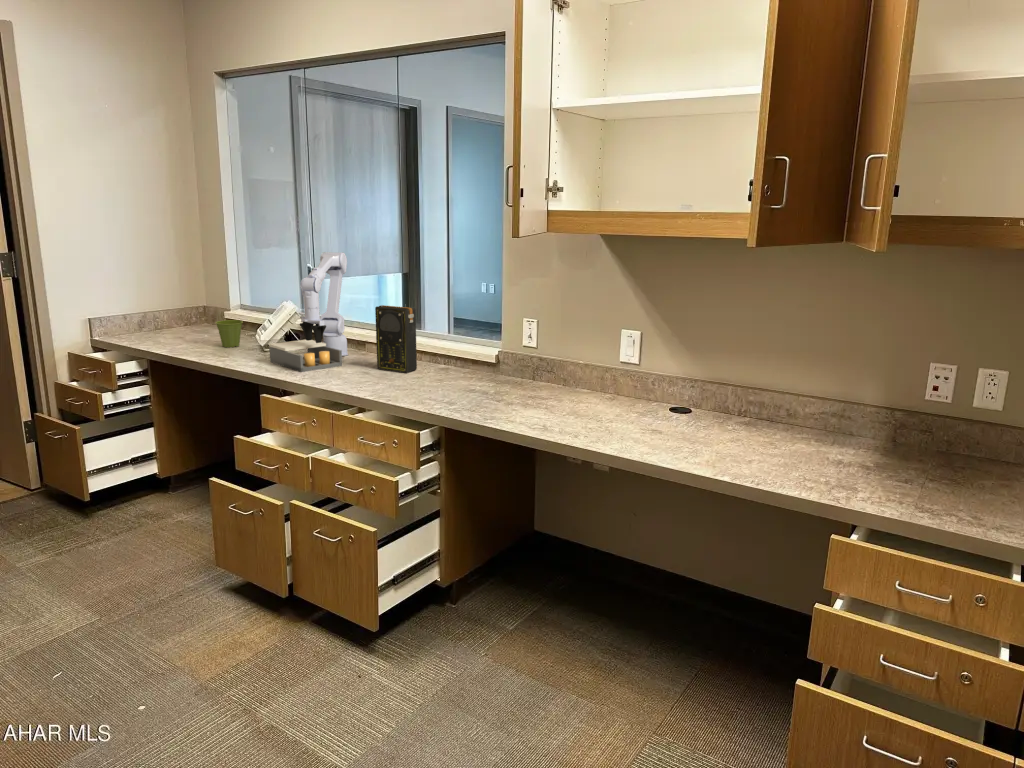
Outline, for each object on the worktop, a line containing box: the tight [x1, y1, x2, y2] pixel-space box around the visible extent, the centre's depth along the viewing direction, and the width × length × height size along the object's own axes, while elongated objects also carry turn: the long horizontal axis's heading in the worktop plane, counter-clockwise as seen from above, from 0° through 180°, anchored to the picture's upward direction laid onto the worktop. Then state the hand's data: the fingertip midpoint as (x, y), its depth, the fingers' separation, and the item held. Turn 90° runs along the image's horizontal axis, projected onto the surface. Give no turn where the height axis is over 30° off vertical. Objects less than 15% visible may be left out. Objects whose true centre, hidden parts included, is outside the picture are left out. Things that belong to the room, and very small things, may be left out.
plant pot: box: [214, 319, 244, 348], centre depth 331 cm, size 12×12×11 cm
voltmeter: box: [374, 304, 418, 374], centre depth 283 cm, size 16×9×25 cm, turn 60°
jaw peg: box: [319, 351, 330, 365], centre depth 290 cm, size 4×4×6 cm
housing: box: [268, 346, 343, 373], centre depth 295 cm, size 18×26×6 cm
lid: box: [268, 339, 326, 352], centre depth 298 cm, size 18×14×2 cm
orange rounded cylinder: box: [303, 352, 315, 367], centre depth 286 cm, size 4×4×6 cm
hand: (313, 341), depth 293 cm, fingers open, 7 cm apart
